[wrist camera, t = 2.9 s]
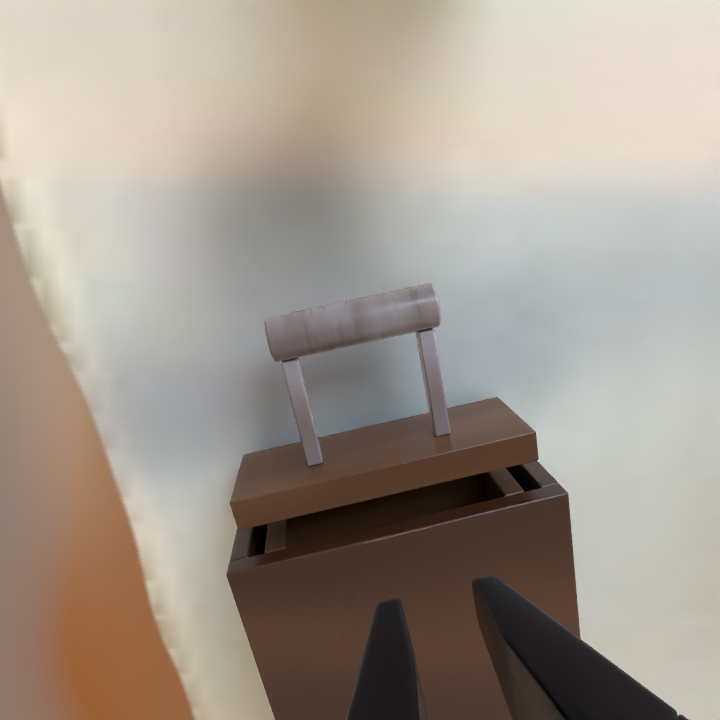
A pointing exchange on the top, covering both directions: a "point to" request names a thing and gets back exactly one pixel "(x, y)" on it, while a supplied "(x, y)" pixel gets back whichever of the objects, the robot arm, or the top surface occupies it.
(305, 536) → the drawer
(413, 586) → the cabinet
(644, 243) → the top surface
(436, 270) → the top surface
